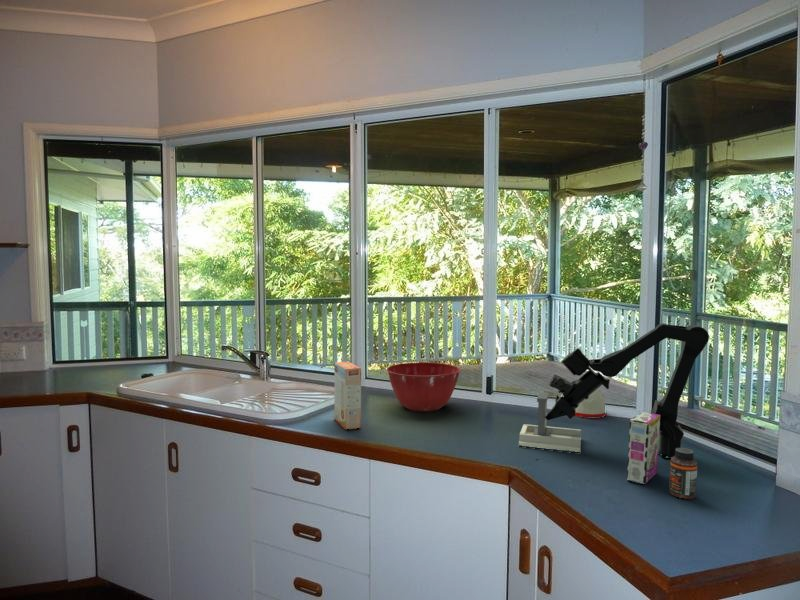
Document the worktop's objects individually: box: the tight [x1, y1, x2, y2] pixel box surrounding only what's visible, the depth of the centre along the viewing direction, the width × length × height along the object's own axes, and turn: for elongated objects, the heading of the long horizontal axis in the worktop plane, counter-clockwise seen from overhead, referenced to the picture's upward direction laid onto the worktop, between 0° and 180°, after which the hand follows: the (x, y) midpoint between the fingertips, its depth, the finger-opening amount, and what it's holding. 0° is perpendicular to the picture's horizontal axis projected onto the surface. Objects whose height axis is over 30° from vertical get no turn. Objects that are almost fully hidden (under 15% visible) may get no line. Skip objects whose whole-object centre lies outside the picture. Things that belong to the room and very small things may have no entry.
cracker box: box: [333, 361, 362, 430], centre depth 195 cm, size 14×6×21 cm, turn 22°
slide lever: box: [533, 391, 551, 436], centre depth 176 cm, size 5×8×13 cm, turn 161°
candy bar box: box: [626, 411, 660, 485], centre depth 148 cm, size 11×5×16 cm, turn 141°
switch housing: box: [518, 423, 582, 453], centre depth 176 cm, size 18×14×4 cm
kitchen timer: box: [574, 379, 606, 418], centre depth 210 cm, size 14×14×15 cm
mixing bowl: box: [386, 361, 461, 413], centre depth 217 cm, size 28×28×16 cm
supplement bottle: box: [668, 447, 698, 500], centre depth 137 cm, size 6×6×11 cm
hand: (546, 418), depth 176 cm, fingers closed, pressing on slide lever
